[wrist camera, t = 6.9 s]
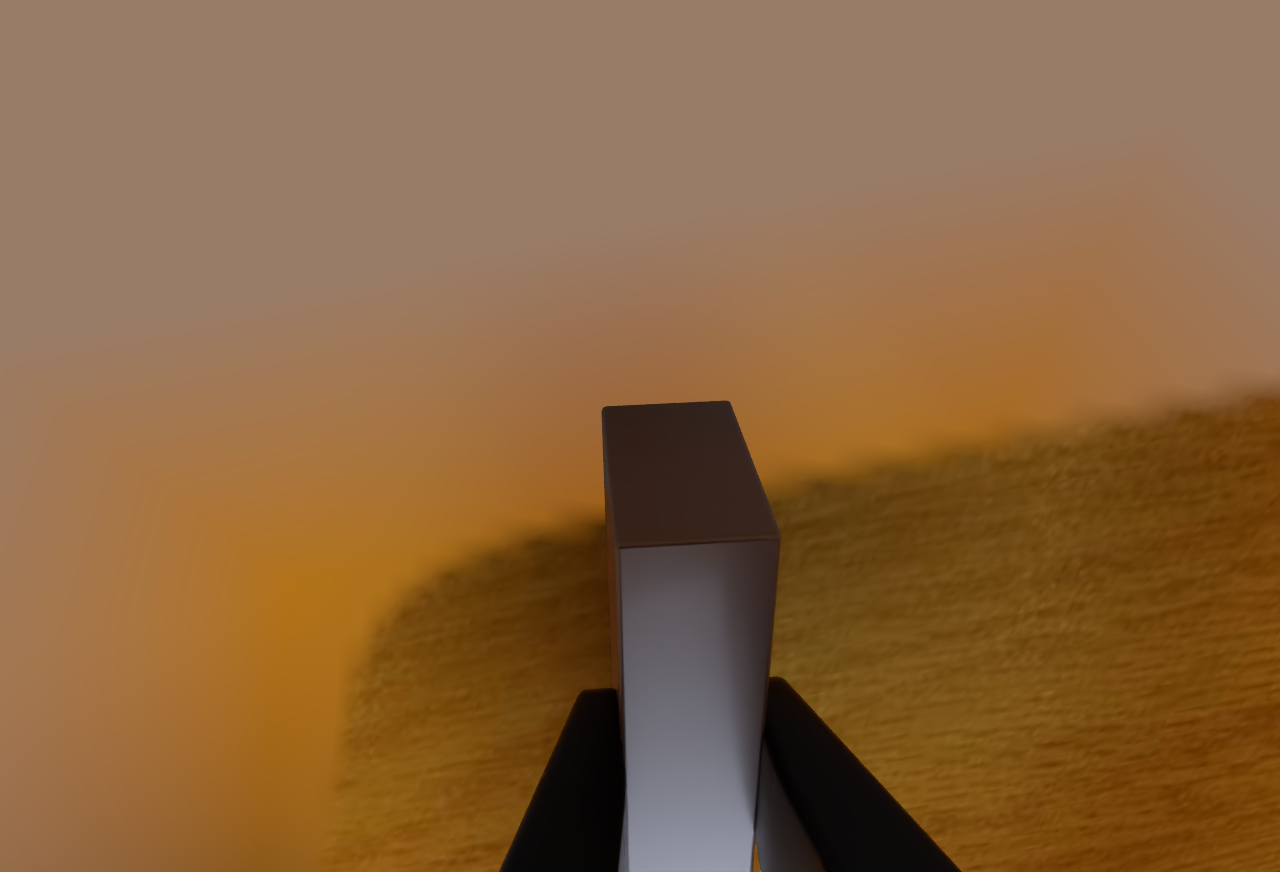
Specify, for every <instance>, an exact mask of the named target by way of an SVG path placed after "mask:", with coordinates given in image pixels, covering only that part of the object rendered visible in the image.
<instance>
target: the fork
mask: <svg viewBox="0 0 1280 872" xmlns="http://www.w3.org/2000/svg"><path fill="white" fill-rule="evenodd" d="M602 433H603V462H604V488H605V514H606V540H607V566H608V592H609V618H610V644H611V670H612V688H614V689H616V693H617V705H618V716H619V728H620V739H621V742H622V744H623V746H624V757H625V768H626V792H627V829H628V865H629V872H753V861H754V850H755V822H756V810H757V799H758V787H759V775H760V764H761V752H762V741H763V735H764V731H765V722H766V710H767V698H768V687H769V675H770V663H771V652H772V640H773V628H774V617H775V605H776V593H777V582H778V570H779V558H780V547H781V534H780V531H779V529H778V526H777V523H776V521H775V518H774V516H773V513H772V510H771V508H770V505H769V502H768V500H767V497H766V495H765V492H764V489H763V487H762V484H761V482H760V479H759V476H758V474H757V471H756V469H755V466H754V463H753V461H752V458H751V456H750V453H749V450H748V448H747V445H746V442H745V440H744V438H743V435H742V432H741V429H740V427H739V424H738V422H737V419H736V416H735V414H734V411H733V409H732V406H731V404H730V402H729V401H709V402H688V403H667V404H647V405H627V406H607V407H604V408H603V410H602Z"/></svg>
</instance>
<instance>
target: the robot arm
mask: <svg viewBox="0 0 1280 872" xmlns="http://www.w3.org/2000/svg"><path fill="white" fill-rule="evenodd" d="M755 838H756V844H757V850H758V857H759V863H760V869H761V872H962V871H961V870H960V869H959V868H958V867H957V866H956V865H955V864H954V863H953V862H952V861H951V859H950V858H949V857H948V856H947V855H946V854H945V853H944V852H943V851H942V850H941V849H940V847H939V846H938V845H937V844H936V843H935V842H934V841H933V840H932V839H931V838H930V837H929V836H928V834H927V833H926V832H925V831H924V830H923V829H922V828H921V827H920V826H919V825H918V824H917V822H916V821H915V820H914V819H913V818H912V817H911V816H910V815H909V814H908V813H907V812H906V811H905V809H904V808H903V807H902V806H901V805H900V804H899V803H898V802H897V801H896V800H895V799H894V797H893V796H892V795H891V794H890V793H889V792H888V791H887V790H886V789H885V788H884V787H883V786H882V784H881V783H880V782H879V781H878V780H877V779H876V778H875V777H874V776H873V775H872V774H871V772H870V771H869V770H868V769H867V768H866V767H865V766H864V765H863V764H862V763H861V762H860V761H859V759H858V758H857V757H856V756H855V755H854V754H853V753H852V752H851V751H850V750H849V749H848V747H847V746H846V745H845V744H844V743H843V742H842V741H841V740H840V739H839V738H838V737H837V736H836V734H835V733H834V732H833V731H832V730H831V729H830V728H829V727H828V726H827V725H826V724H825V723H824V721H823V720H822V719H821V718H820V717H819V716H818V715H817V714H816V713H815V712H814V711H813V709H812V708H811V707H810V706H809V705H808V704H807V703H806V702H805V701H804V700H803V699H802V698H801V696H800V695H799V694H798V693H797V692H796V691H795V690H794V689H793V688H792V687H791V686H790V684H789V683H788V682H787V681H786V680H784V679H783V678H781V677H769V687H768V698H767V710H766V722H765V731H764V735H763V741H762V752H761V764H760V775H759V787H758V799H757V810H756V822H755ZM499 872H629V865H628V829H627V792H626V768H625V757H624V746H623V744H622V742H621V739H620V728H619V716H618V705H617V693H616V689H614V688H602V689H587V690H583V691H582V692H580V694H579V695H578V697H577V699H576V701H575V703H574V706H573V708H572V710H571V712H570V714H569V717H568V719H567V721H566V723H565V726H564V728H563V730H562V732H561V735H560V737H559V739H558V741H557V744H556V746H555V748H554V750H553V752H552V755H551V757H550V759H549V761H548V764H547V766H546V768H545V770H544V773H543V775H542V777H541V779H540V781H539V784H538V786H537V788H536V790H535V793H534V795H533V797H532V799H531V802H530V804H529V806H528V808H527V810H526V813H525V815H524V817H523V819H522V822H521V824H520V826H519V828H518V831H517V833H516V835H515V837H514V840H513V842H512V844H511V846H510V848H509V851H508V853H507V855H506V857H505V860H504V862H503V864H502V866H501V869H500V871H499Z"/></svg>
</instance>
